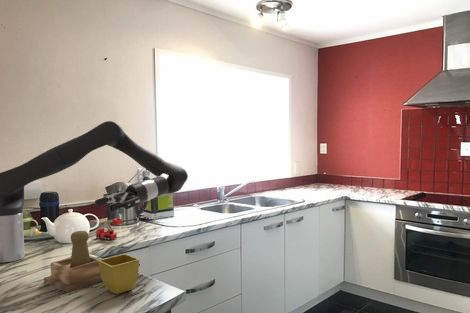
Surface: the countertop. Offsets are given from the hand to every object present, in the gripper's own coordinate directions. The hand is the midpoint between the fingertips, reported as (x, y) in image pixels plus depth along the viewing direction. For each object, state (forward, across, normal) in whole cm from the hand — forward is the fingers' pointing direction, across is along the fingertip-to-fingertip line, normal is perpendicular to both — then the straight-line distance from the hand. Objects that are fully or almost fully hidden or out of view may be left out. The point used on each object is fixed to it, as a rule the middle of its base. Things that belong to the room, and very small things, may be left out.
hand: (102, 206), depth 123 cm
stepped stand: (+14, +4, +19) cm, 24 cm away
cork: (+12, +4, +15) cm, 20 cm away
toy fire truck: (-19, -35, +31) cm, 51 cm away
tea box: (-64, -58, +42) cm, 96 cm away
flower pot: (+10, +21, +18) cm, 30 cm away
